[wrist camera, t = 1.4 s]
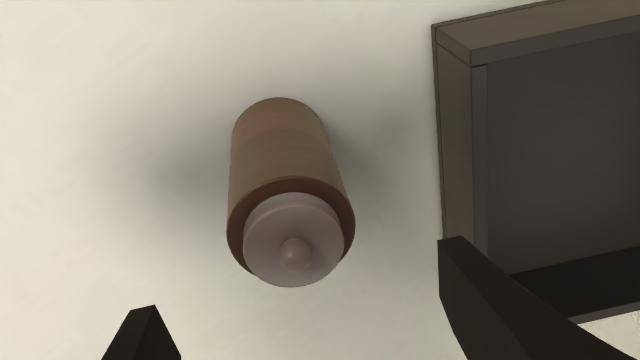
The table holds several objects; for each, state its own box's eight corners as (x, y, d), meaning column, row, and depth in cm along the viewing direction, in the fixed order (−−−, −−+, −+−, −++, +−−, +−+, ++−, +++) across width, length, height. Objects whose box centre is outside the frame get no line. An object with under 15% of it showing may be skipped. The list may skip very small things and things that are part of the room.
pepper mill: (331, 172, 22) (374, 302, 15) (244, 191, 22) (244, 331, 15) (316, 88, 20) (357, 191, 13) (220, 108, 20) (207, 223, 13)
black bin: (663, 241, 27) (724, 291, 24) (446, 290, 27) (476, 348, 23) (724, -38, 20) (824, -25, 17) (430, 24, 20) (470, 50, 16)
